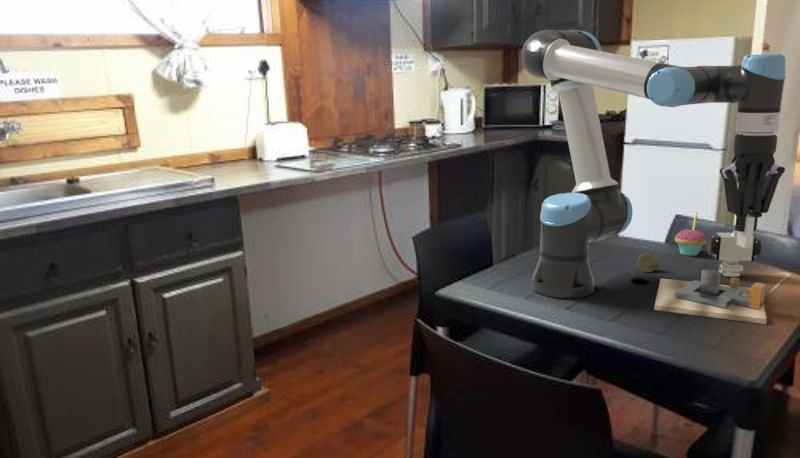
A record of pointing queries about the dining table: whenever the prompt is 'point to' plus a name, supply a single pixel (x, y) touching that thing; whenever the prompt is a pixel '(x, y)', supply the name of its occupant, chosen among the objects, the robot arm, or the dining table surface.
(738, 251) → the pneumatic valve
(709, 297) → the flange plate
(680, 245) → the cupcake
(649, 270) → the lime
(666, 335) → the dining table surface
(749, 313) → the post board
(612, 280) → the dining table surface
